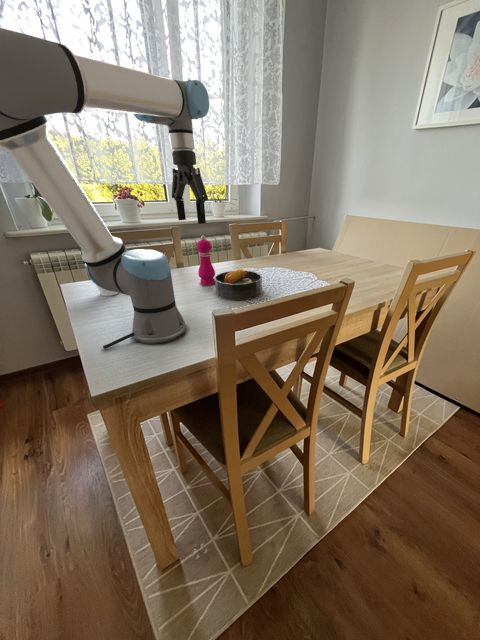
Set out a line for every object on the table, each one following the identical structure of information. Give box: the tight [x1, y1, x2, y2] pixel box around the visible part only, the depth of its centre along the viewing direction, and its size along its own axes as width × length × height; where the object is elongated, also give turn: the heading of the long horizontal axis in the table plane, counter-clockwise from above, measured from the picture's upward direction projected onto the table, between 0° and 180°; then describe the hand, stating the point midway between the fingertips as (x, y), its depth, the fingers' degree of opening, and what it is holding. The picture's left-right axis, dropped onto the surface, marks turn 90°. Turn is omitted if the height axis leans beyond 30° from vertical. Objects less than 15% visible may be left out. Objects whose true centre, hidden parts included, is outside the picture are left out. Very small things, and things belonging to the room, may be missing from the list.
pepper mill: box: [196, 235, 216, 286], centre depth 124 cm, size 7×7×20 cm
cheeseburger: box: [225, 268, 252, 284], centre depth 116 cm, size 10×11×10 cm
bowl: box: [214, 270, 263, 301], centre depth 117 cm, size 19×19×6 cm
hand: (191, 221), depth 105 cm, fingers open, 13 cm apart
